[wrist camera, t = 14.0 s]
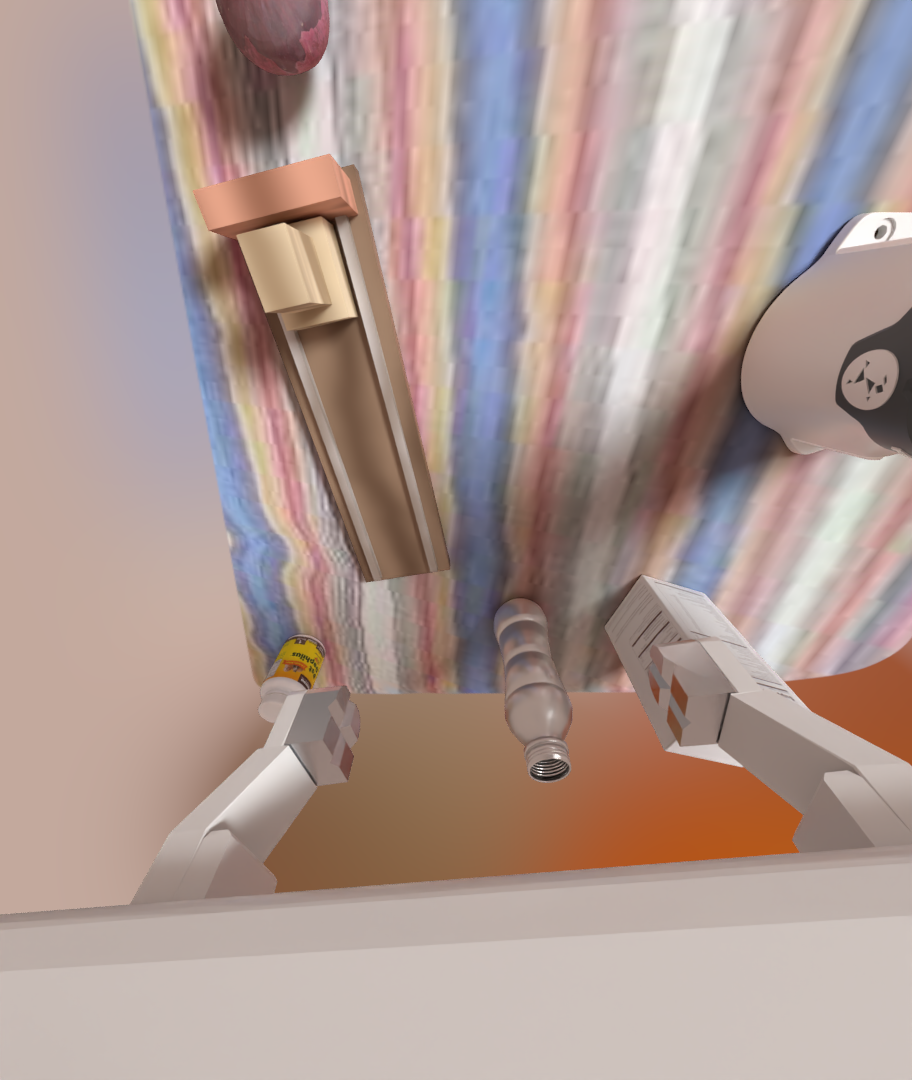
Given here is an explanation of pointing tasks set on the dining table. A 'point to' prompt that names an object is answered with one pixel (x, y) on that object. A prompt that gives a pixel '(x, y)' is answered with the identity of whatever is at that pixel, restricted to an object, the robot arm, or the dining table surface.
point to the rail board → (347, 370)
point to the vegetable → (278, 32)
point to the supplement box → (675, 617)
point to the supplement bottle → (290, 673)
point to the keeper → (299, 273)
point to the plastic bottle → (533, 690)
